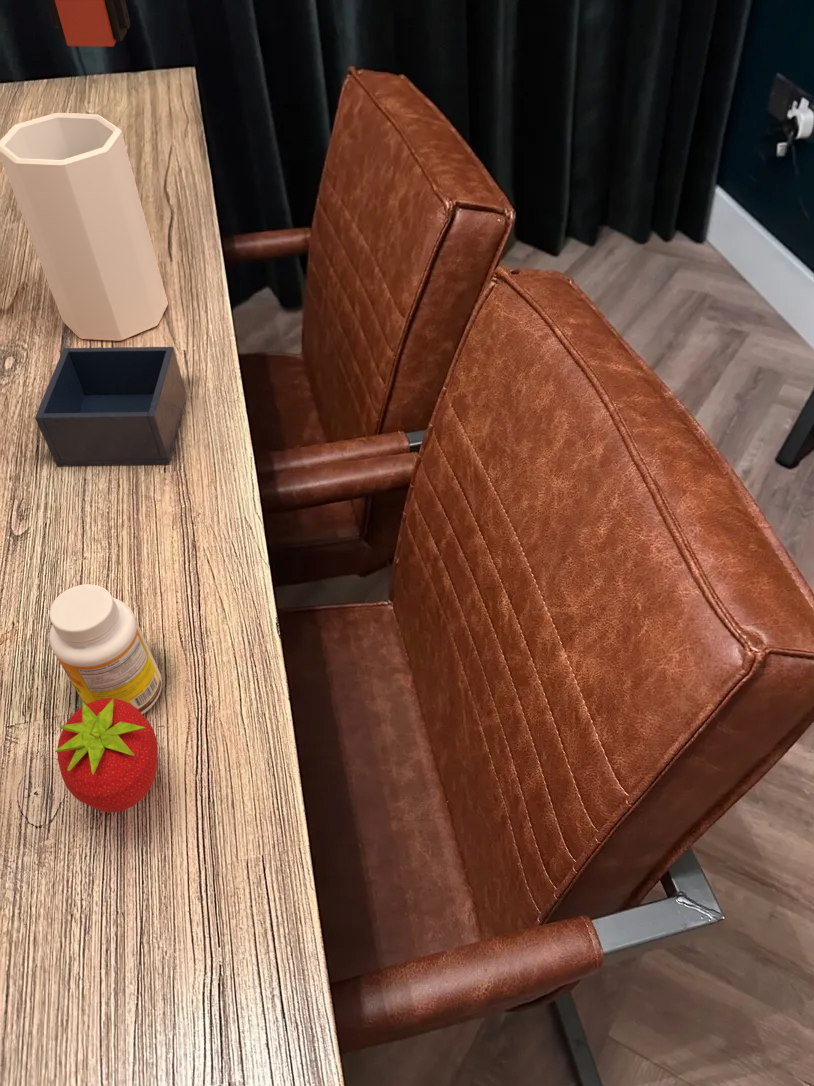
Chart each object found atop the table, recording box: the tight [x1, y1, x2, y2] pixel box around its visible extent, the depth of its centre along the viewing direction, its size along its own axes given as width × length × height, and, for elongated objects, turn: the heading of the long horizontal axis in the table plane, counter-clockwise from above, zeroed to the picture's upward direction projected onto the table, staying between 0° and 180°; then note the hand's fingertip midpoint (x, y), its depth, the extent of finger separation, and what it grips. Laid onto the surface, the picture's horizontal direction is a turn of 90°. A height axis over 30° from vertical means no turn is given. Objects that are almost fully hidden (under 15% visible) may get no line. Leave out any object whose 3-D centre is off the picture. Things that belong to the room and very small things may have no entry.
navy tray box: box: [34, 346, 187, 467], centre depth 80 cm, size 10×10×6 cm
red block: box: [55, 0, 117, 48], centre depth 86 cm, size 4×4×4 cm
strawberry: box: [54, 698, 159, 813], centre depth 55 cm, size 6×8×10 cm
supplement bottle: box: [48, 583, 163, 715], centre depth 60 cm, size 6×6×10 cm
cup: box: [0, 112, 169, 342], centre depth 88 cm, size 11×11×18 cm
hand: (94, 34), depth 87 cm, fingers closed on red block, 4 cm apart
